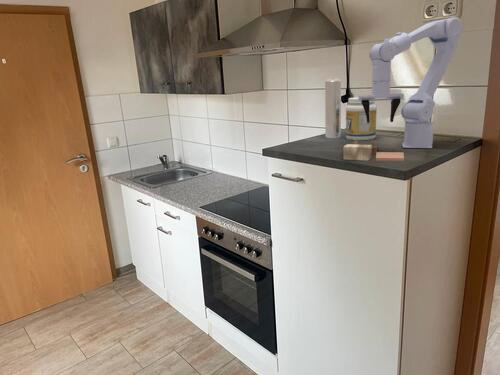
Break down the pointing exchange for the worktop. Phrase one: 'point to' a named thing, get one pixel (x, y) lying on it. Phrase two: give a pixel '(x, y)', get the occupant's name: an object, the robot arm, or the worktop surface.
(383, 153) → the terracotta tile
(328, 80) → the air filter
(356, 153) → the birch block
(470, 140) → the worktop surface
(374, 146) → the slot rack
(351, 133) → the supplement tub
